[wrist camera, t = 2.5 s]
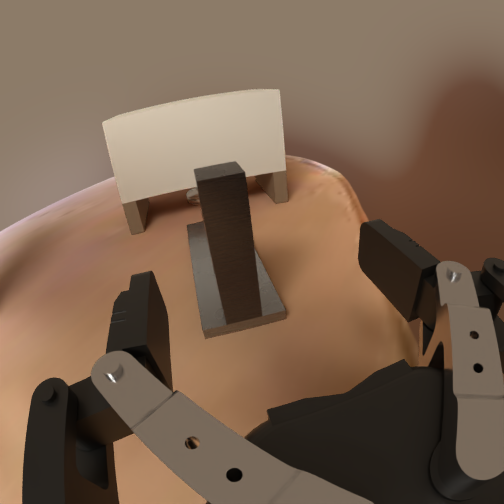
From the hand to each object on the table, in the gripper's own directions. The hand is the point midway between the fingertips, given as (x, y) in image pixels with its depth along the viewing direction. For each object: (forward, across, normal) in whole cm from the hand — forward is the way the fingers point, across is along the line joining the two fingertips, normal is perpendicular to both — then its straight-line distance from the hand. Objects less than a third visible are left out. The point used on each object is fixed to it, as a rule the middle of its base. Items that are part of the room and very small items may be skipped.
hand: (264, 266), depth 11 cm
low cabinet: (+38, 0, +12) cm, 40 cm away
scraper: (+19, 0, +12) cm, 23 cm away
